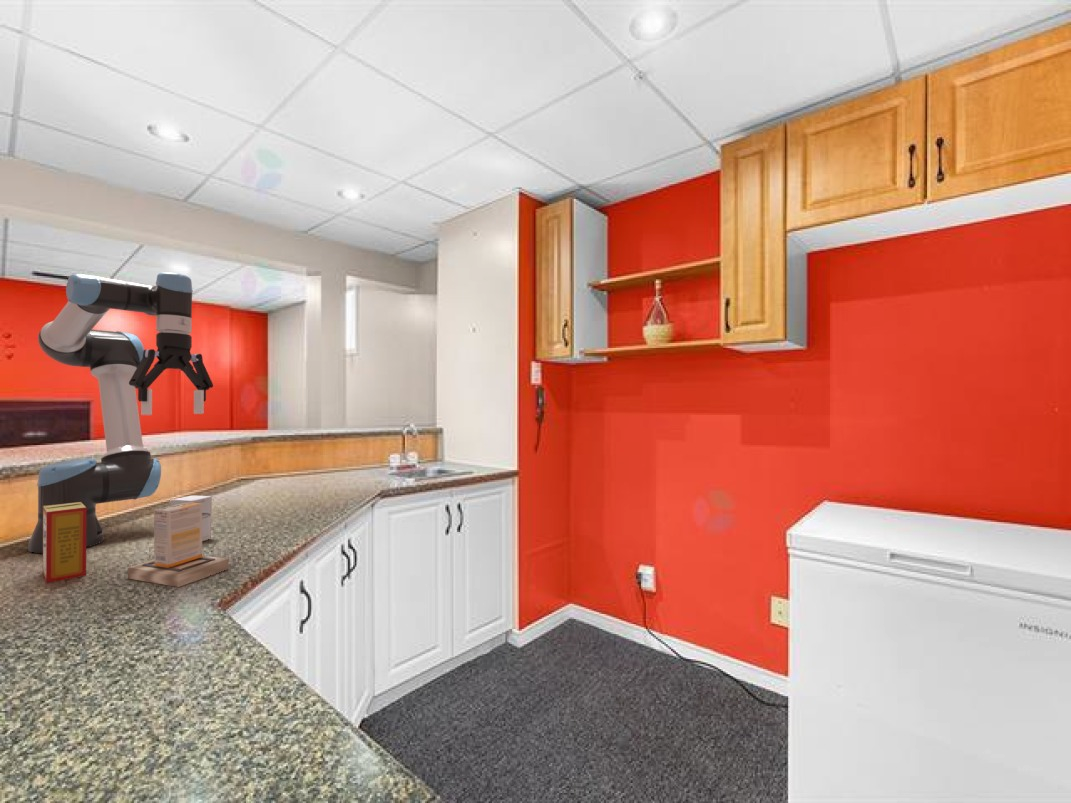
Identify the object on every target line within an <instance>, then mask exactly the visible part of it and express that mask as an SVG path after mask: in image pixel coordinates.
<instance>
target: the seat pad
mask: <svg viewBox="0 0 1071 803" xmlns="http://www.w3.org/2000/svg"><path fill="white" fill-rule="evenodd" d="M227 569H228V570H229V558H227V557H226V558H223V557H216V556H211V555H205V554H202V557H201V558H198V559H195V560H191V561H188V562H185V563H182V564H179V565H176V566H173V567H170V568H165V567H159V566H155V561H154V559H152V560H148V561H145V562H142V563H139V564H134V565H131V566H128V567H127V579H129V580H130V579H131V580H135V581H140V582H141V581H142V582H147V583H153V584H159V585H165V586H171V587H178V588H179V587H182V586H185V585H189V584H190V583H194V582H196V581H199V580H202V579H205V578H208V577H211V576H213V575H217V574H219V572H220V573H222V572H225V571H228V570H227ZM224 570H225V571H224ZM221 571H222V572H221ZM216 573H217V574H216ZM210 575H211V576H210Z"/></svg>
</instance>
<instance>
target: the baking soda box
mask: <svg viewBox="0 0 1071 803" xmlns="http://www.w3.org/2000/svg"><path fill="white" fill-rule="evenodd" d="M42 575H43V578H44V577H45V578H44V579H45V583H47V584H48V582H49V583H53V582H57V581H58V582H59V581H63V580H68V579H75V578H80V577H84V576H83V575H85V576H87V547H86V507H85V506H84V505H83V504H82V503H81V502H75V503H66V504H57V505H48V506H43V553H42ZM79 576H80V577H79ZM74 577H75V578H74Z"/></svg>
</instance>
